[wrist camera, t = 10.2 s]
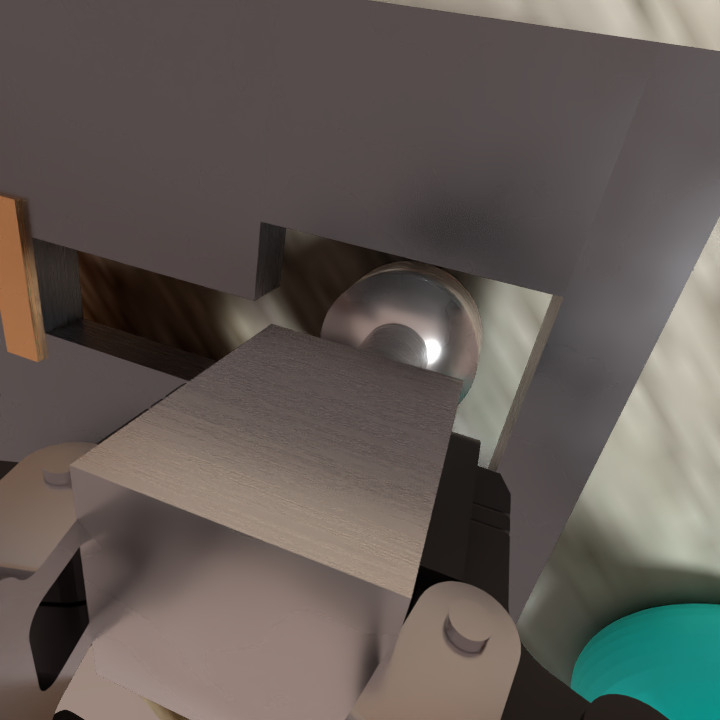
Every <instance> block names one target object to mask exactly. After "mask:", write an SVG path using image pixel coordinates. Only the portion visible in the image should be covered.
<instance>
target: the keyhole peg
mask: <svg viewBox="0 0 720 720" xmlns="http://www.w3.org/2000/svg"><path fill="white" fill-rule="evenodd" d="M481 344H482V323H481V318H480V314H479V311H478V308H477V306H476V304H475V302H474V300H473V298H472V296H471V295H470V294H469V292H468V291H467V289H466V288H465V287H464V286H463V285H462V284H461V283H460V282H459V281H458V280H457V279H456V278H454V277H453V276H452V275H450V274H449V273H447V272H446V271H444V270H442V269H440V268H438V267H435V266H433V265H430V264H426V263H422V262H416V261H399V262H393V263H388V264H385V265H382V266H380V267H377V268H376V269H374V270H372V271H370V272H369V273H367V274H366V275H365V276H363V277H362V278H361V279H360V280H358V281H357V282H356V283H355V284H353V285H352V286H351V287H350V288H348V289H347V290H346V291H345V292H343V293H342V294H341V295H340V296H339V297H338V298H337V299H336V300H335V302H334V303H333V304H332V306H331V307H330V309H329V311H328V313H327V314H326V317H325V319H324V322H323V325H322V329H321V335H320V338H318V337H315V336H311V335H308V334H304V333H301V332H298V331H294V330H291V329H287V328H284V327H280V326H277V325H274V324H271V325H269V326H268V327H267V328H265V329H264V330H262V331H261V332H259V333H258V334H256V335H255V336H254V337H252V338H251V339H249V340H248V341H246V342H245V343H244V344H242V345H241V346H239V347H238V348H236V349H235V350H234V351H232V352H231V353H229V354H228V355H226V356H225V357H224V358H222V359H221V360H219V361H218V362H216V363H215V364H214V365H212V366H211V367H209V368H208V369H206V370H205V371H203V372H202V373H201V374H199V375H198V376H196V377H195V378H193V379H192V380H191V381H189V382H188V383H186V384H185V385H183V386H182V387H181V388H179V389H178V390H176V391H175V392H173V393H172V394H171V395H169V396H168V397H166V398H165V399H163V400H162V401H161V402H159V403H158V404H156V405H155V406H153V407H152V408H150V409H149V410H148V411H146V412H145V413H143V414H142V415H140V416H139V417H138V418H136V419H135V420H133V421H132V422H130V423H129V424H128V425H126V426H125V427H123V428H122V429H120V430H119V431H118V432H116V433H115V434H113V435H112V436H110V437H109V438H108V439H106V440H105V441H103V442H102V443H100V444H99V445H97V446H96V447H95V448H93V449H92V450H90V451H89V452H87V453H86V454H85V455H83V456H82V457H80V458H79V459H77V460H76V461H75V462H73V463H72V464H70V465H69V466H70V474H71V482H72V490H73V497H74V505H75V513H76V520H77V526H78V534H79V542H80V552H81V560H82V568H83V575H84V583H85V591H86V599H87V607H88V615H89V622H90V629H91V637H92V646H93V654H94V661H95V669H96V674H97V675H99V676H101V677H103V678H105V679H108V680H110V681H112V682H114V683H116V684H118V685H120V686H122V687H124V688H126V689H128V690H130V691H132V692H135V693H136V694H138V695H140V696H143V697H145V698H147V699H149V700H151V701H153V702H155V703H157V704H159V705H161V706H163V707H165V708H167V709H169V710H171V711H173V712H175V713H178V714H180V715H182V716H184V717H186V718H188V719H190V720H345V718H346V717H347V716H348V714H349V713H350V711H351V709H352V708H353V706H354V705H355V703H356V701H357V700H358V698H359V696H360V695H361V693H362V691H363V690H364V688H365V687H366V685H367V683H368V682H369V680H370V678H371V677H372V675H373V673H374V672H375V670H376V668H377V667H378V665H379V664H380V662H381V660H382V659H383V657H384V655H385V654H386V652H387V650H388V649H389V650H391V651H394V649H395V646H396V643H397V640H398V637H399V634H400V631H401V628H402V625H403V622H404V619H405V616H406V613H407V610H408V607H409V604H410V601H411V598H412V594H413V589H414V585H415V581H416V577H417V573H418V569H419V564H420V560H421V556H422V552H423V548H424V544H425V539H426V535H427V531H428V527H429V523H430V519H431V514H432V510H433V506H434V502H435V498H436V493H437V489H438V485H439V481H440V477H441V473H442V468H443V464H444V460H445V456H446V452H447V448H448V443H449V439H450V435H451V431H452V427H453V423H454V418H455V414H456V410H457V406H458V404H459V403H460V402H461V401H462V400H463V398H464V397H465V396H466V394H467V393H468V391H469V389H470V388H471V385H472V383H473V381H474V378H475V374H476V370H477V365H478V360H479V355H480V349H481Z"/></svg>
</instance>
